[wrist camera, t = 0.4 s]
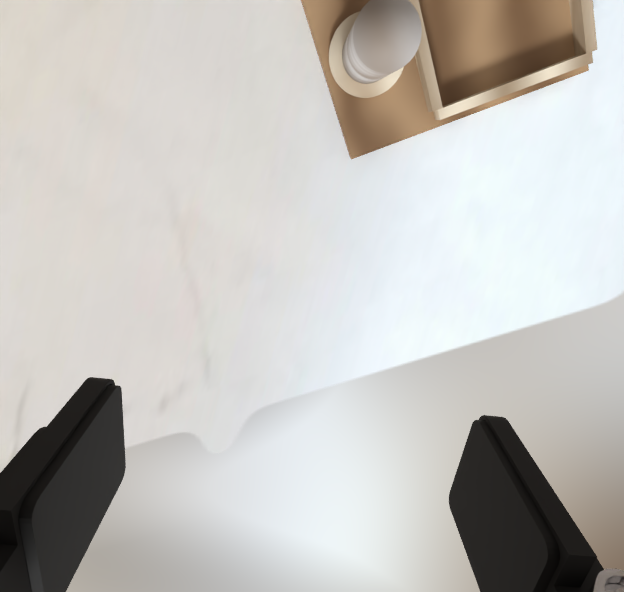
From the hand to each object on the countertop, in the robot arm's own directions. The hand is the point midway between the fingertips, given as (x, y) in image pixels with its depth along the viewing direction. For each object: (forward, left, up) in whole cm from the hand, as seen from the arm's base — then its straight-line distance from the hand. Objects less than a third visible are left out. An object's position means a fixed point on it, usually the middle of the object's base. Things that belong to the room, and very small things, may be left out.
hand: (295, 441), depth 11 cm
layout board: (-16, +10, -31) cm, 36 cm away
